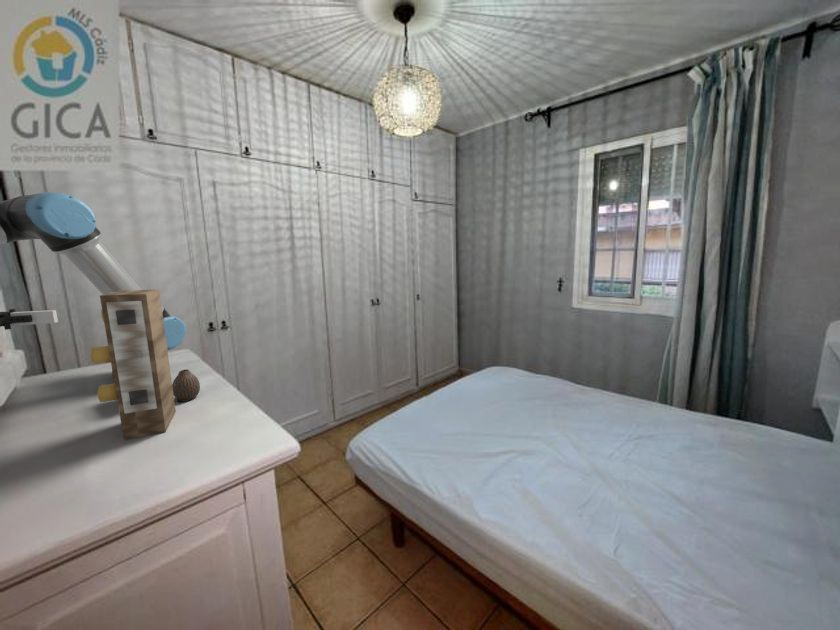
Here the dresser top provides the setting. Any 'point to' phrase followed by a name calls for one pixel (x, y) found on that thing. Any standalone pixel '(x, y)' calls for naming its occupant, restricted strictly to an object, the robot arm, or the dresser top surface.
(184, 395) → the vase
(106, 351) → the button mid
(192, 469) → the dresser top surface
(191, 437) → the dresser top surface
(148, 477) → the dresser top surface
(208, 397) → the dresser top surface
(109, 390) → the button low
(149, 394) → the button column
